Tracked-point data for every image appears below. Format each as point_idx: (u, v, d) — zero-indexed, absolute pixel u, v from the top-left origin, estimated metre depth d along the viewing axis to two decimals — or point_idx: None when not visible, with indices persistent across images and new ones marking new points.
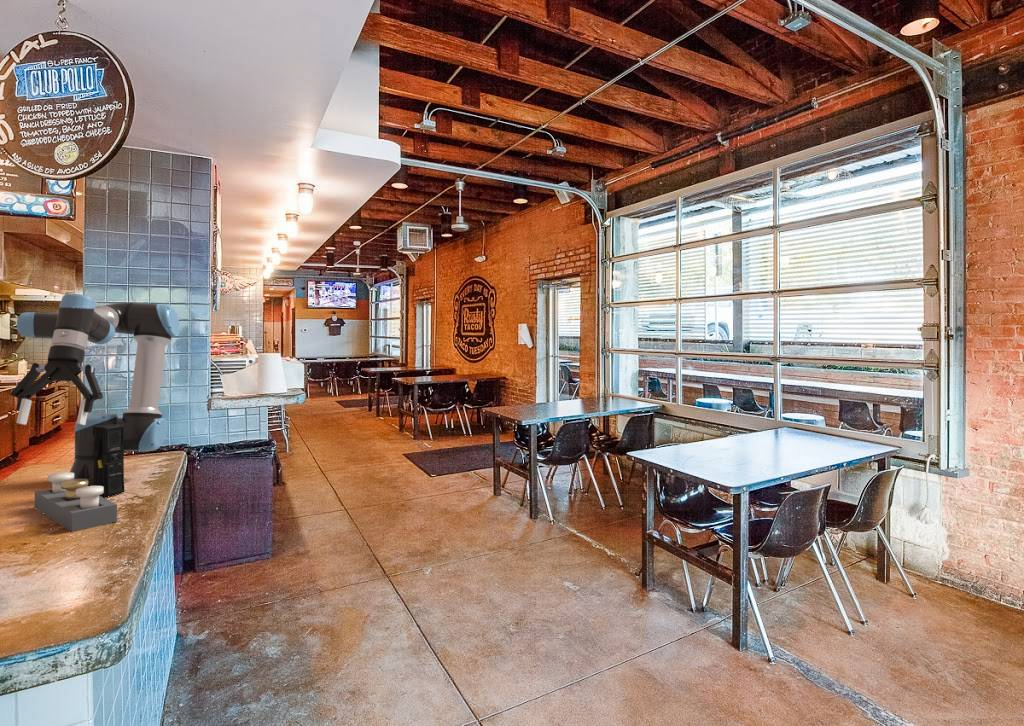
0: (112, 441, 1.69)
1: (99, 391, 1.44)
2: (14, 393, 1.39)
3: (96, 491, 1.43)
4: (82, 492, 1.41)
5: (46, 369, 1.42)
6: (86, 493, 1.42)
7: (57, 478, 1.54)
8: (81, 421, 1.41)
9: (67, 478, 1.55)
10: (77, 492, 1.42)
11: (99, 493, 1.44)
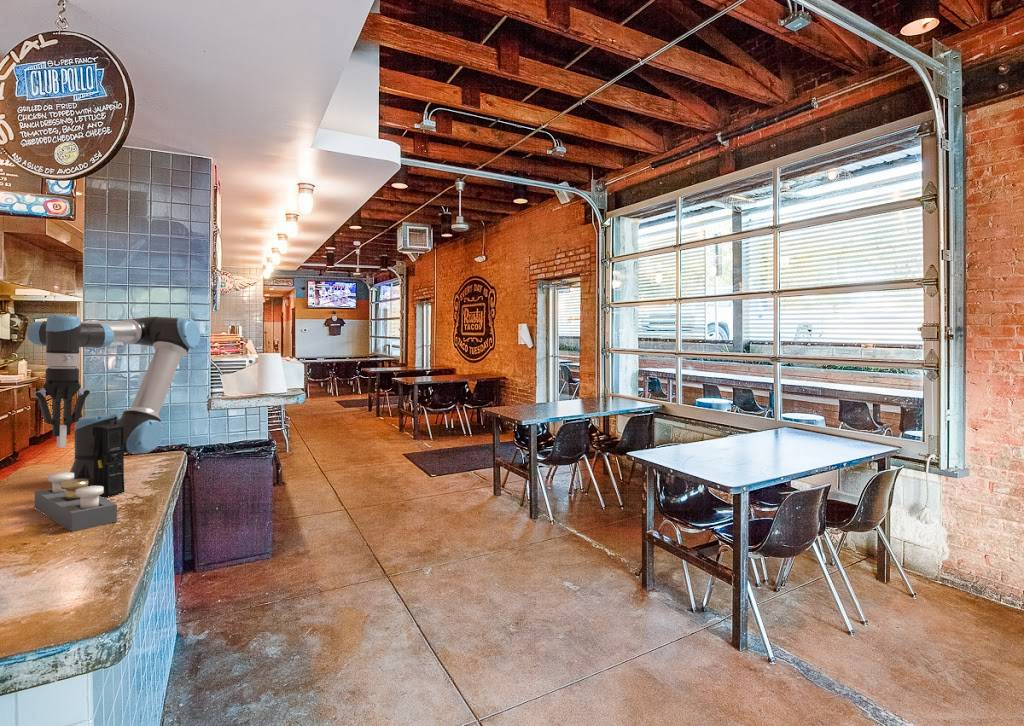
0: (112, 441, 1.69)
1: None
2: (50, 421, 1.53)
3: (96, 491, 1.43)
4: (82, 492, 1.41)
5: (51, 390, 1.53)
6: (86, 493, 1.42)
7: (57, 478, 1.54)
8: None
9: (67, 478, 1.55)
10: (77, 492, 1.42)
11: (99, 493, 1.44)
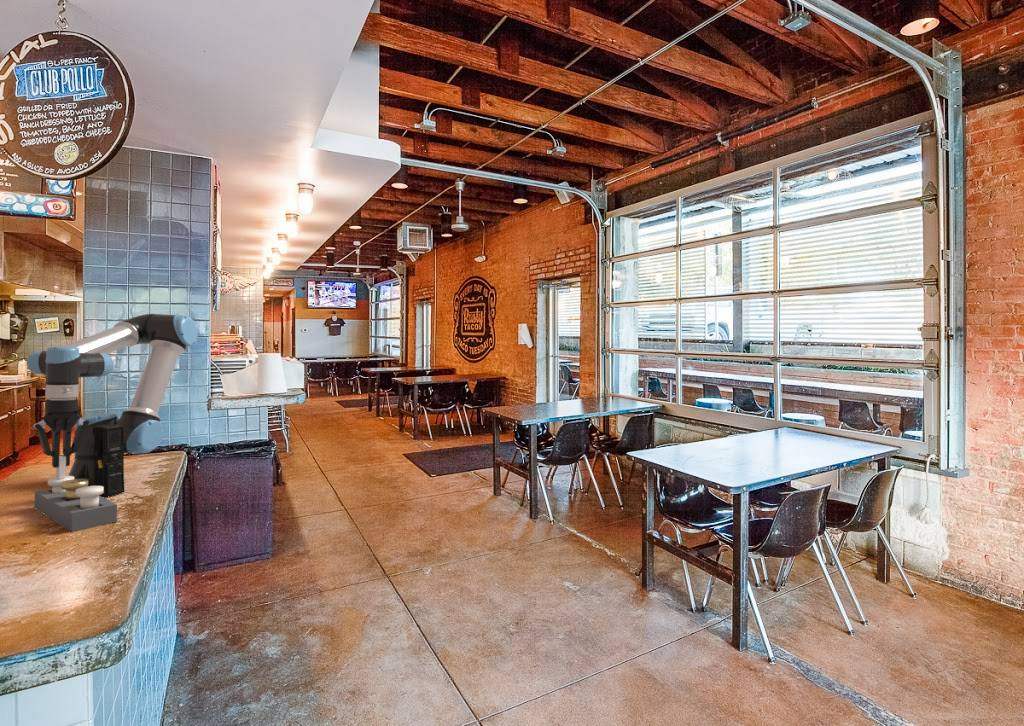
0: (112, 441, 1.69)
1: None
2: (50, 452, 1.53)
3: (96, 491, 1.43)
4: (82, 492, 1.41)
5: (50, 422, 1.53)
6: (86, 493, 1.42)
7: (57, 482, 1.54)
8: None
9: None
10: (77, 492, 1.42)
11: (99, 493, 1.44)
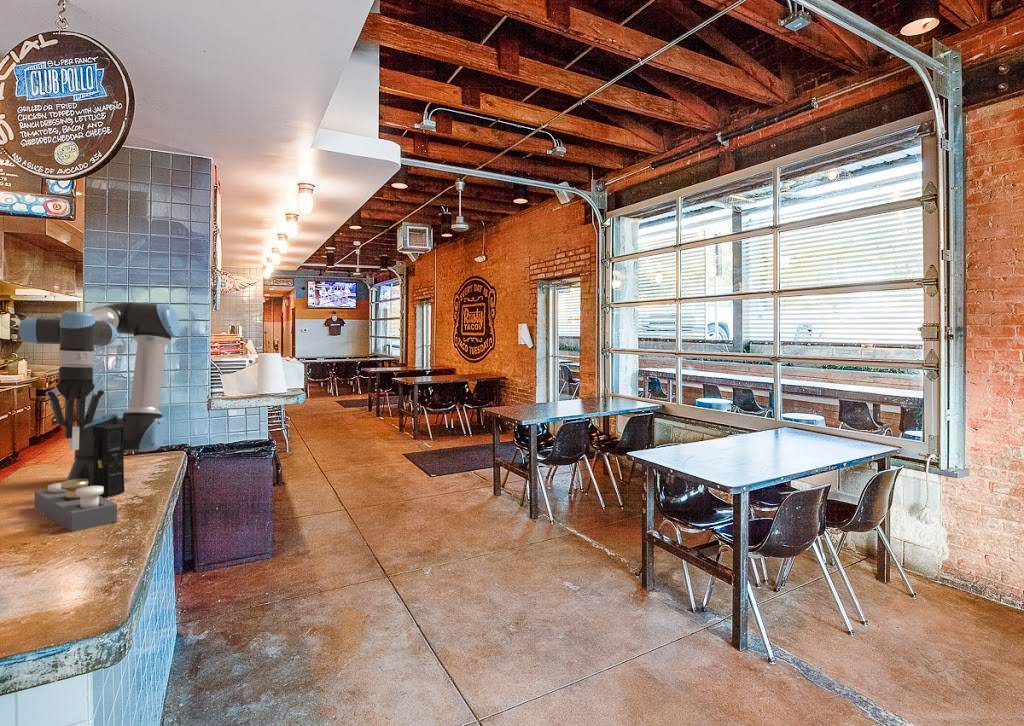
0: (112, 441, 1.69)
1: None
2: (63, 422, 1.46)
3: (96, 491, 1.43)
4: (82, 492, 1.41)
5: (64, 389, 1.46)
6: (86, 493, 1.42)
7: (57, 488, 1.54)
8: None
9: None
10: (77, 492, 1.42)
11: (99, 493, 1.44)
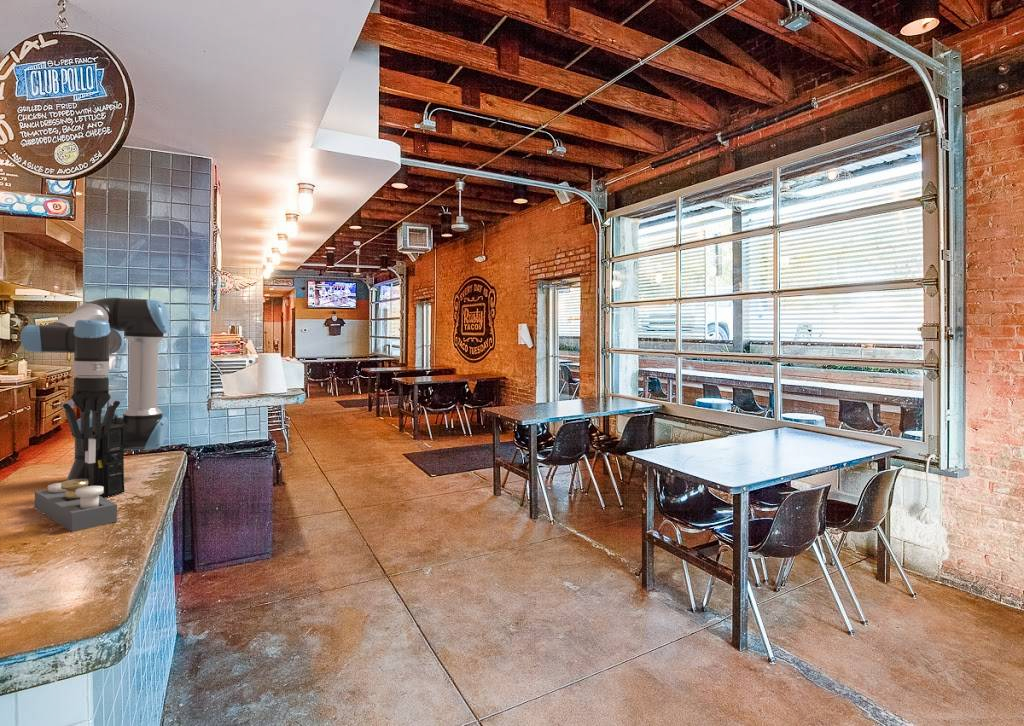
0: (112, 441, 1.69)
1: None
2: (79, 435, 1.41)
3: (96, 491, 1.43)
4: (82, 492, 1.41)
5: (79, 401, 1.41)
6: (86, 493, 1.42)
7: (57, 488, 1.54)
8: None
9: None
10: (77, 492, 1.42)
11: (99, 493, 1.44)
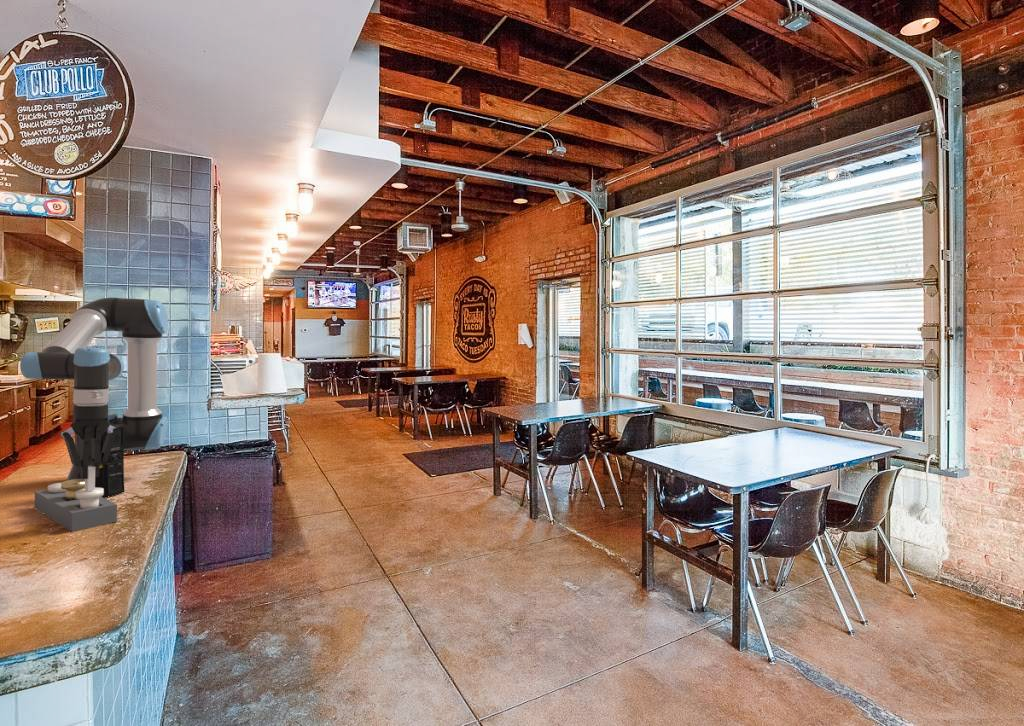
0: None
1: None
2: (78, 463, 1.41)
3: (96, 493, 1.43)
4: (82, 494, 1.41)
5: (79, 429, 1.41)
6: (86, 495, 1.42)
7: (57, 488, 1.54)
8: None
9: None
10: (77, 494, 1.42)
11: (99, 495, 1.44)
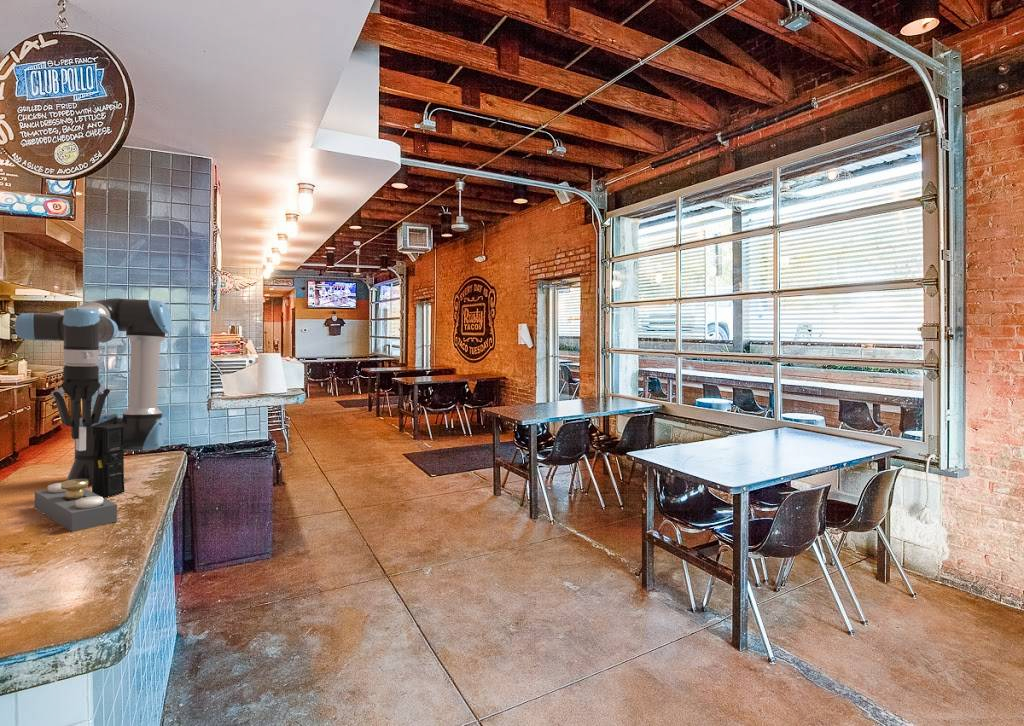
0: (112, 441, 1.69)
1: None
2: (69, 422, 1.42)
3: (96, 502, 1.43)
4: (82, 503, 1.42)
5: (69, 389, 1.41)
6: (86, 504, 1.42)
7: (57, 488, 1.54)
8: None
9: None
10: (77, 503, 1.42)
11: (99, 504, 1.44)
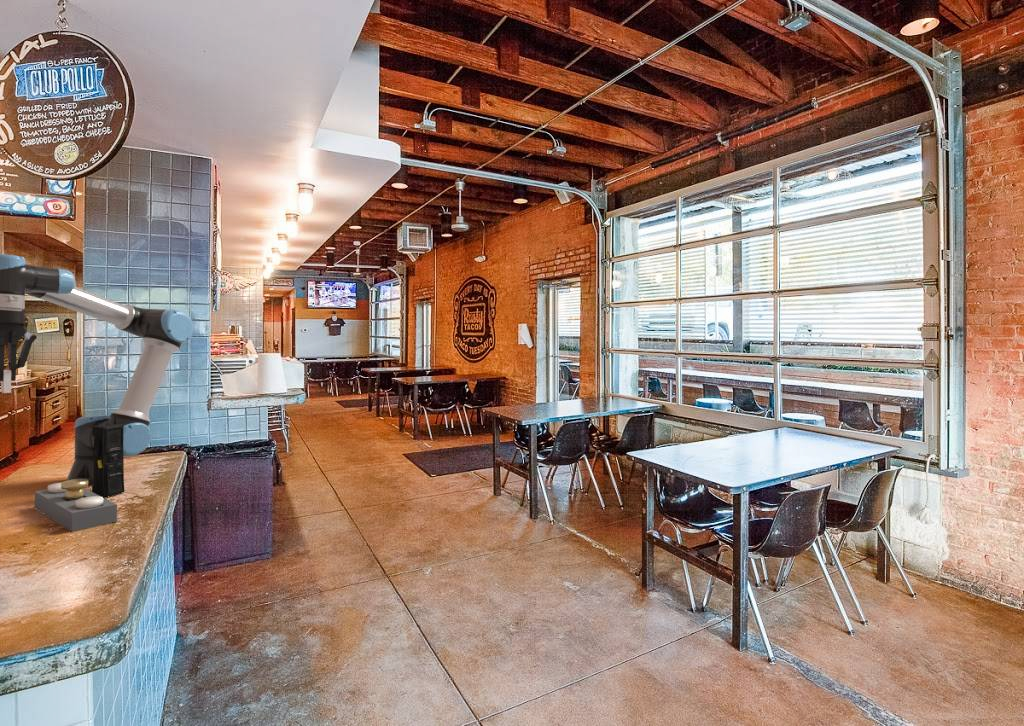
0: (111, 441, 1.68)
1: None
2: None
3: (96, 502, 1.43)
4: (82, 503, 1.42)
5: None
6: (86, 504, 1.42)
7: (57, 488, 1.54)
8: None
9: None
10: (77, 503, 1.42)
11: (99, 504, 1.44)
